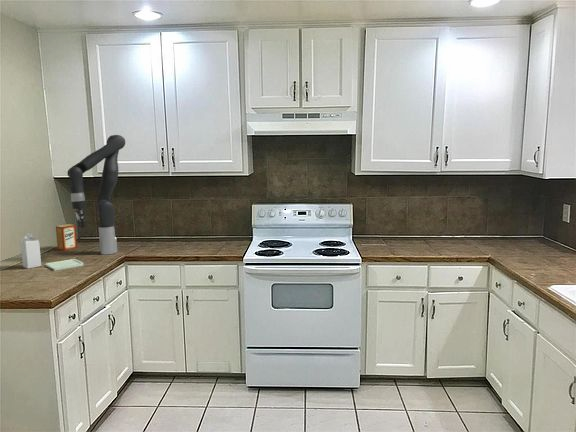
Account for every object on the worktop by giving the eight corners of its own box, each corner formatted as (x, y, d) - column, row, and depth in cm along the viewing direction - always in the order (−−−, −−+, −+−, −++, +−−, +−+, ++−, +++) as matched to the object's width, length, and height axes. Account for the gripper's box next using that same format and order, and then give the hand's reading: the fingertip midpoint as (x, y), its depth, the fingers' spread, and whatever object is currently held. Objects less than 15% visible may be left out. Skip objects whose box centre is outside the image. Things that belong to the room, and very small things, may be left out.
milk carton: (36, 264, 257) (33, 232, 255) (41, 266, 253) (38, 233, 250) (22, 267, 252) (19, 234, 249) (28, 269, 248) (24, 235, 245)
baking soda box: (64, 250, 293) (61, 226, 291) (57, 249, 296) (55, 225, 294) (76, 247, 301) (75, 224, 299) (70, 246, 304) (68, 223, 302)
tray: (74, 260, 265) (74, 258, 265) (84, 265, 254) (84, 263, 254) (45, 265, 254) (45, 263, 254) (54, 270, 243) (53, 268, 243)
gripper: (87, 200, 264) (90, 227, 265) (83, 199, 275) (86, 225, 277) (73, 201, 259) (76, 228, 261) (69, 200, 271) (73, 227, 273)
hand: (81, 227), depth 269 cm, fingers open, 8 cm apart
